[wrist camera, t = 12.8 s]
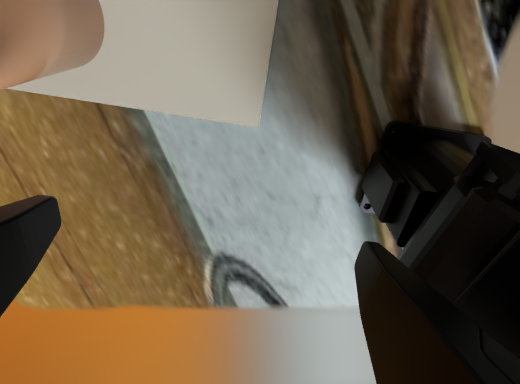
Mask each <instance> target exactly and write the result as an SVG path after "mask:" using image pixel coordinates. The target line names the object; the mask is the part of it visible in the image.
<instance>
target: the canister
mask: <svg viewBox="0 0 520 384" xmlns="http://www.w3.org/2000/svg"><path fill="white" fill-rule="evenodd" d="M103 39H104V16H103V12H102V8H101V5H100V2H99V0H0V90H2V89H5V88H9V87H12V86H16V85H19V84H23V83H26V82H30V81H33V80H37V79H40V78H44V77H47V76H51V75H54V74H58V73H61V72H65V71H68V70H72V69H75V68H78V67H81V66H84V65H86V64H87V63H89V62H90V61H91V60H93V58H94V57H95V56H96V55H97V53H98V52H99V50H100V48H101V46H102V42H103Z"/></svg>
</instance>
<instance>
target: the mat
mask: <svg viewBox="0 0 520 384" xmlns="http://www.w3.org/2000/svg"><path fill="white" fill-rule="evenodd" d="M278 1H279V0H99V2H100V5H101V8H102V12H103V16H104V39H103V42H102V46H101V48H100V50H99V52H98V53H97V55H96V56H95V57H94V58H93V60H91V61H90V62H89V63H87V64H86V65H84V66H81V67H78V68H75V69H72V70H68V71H65V72H61V73H58V74H54V75H51V76H47V77H44V78H40V79H37V80H33V81H30V82H26V83H23V84H19V85H16V86H12V87H9V88H7V89H14V90H20V91H26V92H33V93H39V94H46V95H52V96H58V97H65V98H71V99H77V100H84V101H90V102H97V103H103V104H109V105H116V106H122V107H128V108H135V109H141V110H148V111H154V112H160V113H167V114H173V115H179V116H186V117H192V118H199V119H205V120H211V121H218V122H224V123H230V124H237V125H243V126H250V127H256V128H259V125H260V118H261V111H262V105H263V98H264V92H265V85H266V79H267V72H268V66H269V59H270V53H271V46H272V40H273V33H274V27H275V20H276V14H277V7H278Z"/></svg>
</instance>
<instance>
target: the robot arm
mask: <svg viewBox="0 0 520 384" xmlns="http://www.w3.org/2000/svg"><path fill="white" fill-rule="evenodd" d="M394 127H398V130H397V131H396V132H395V133H392V129H393V128H394ZM480 142H481V144H480V145H479V143H480ZM478 145H479V146H478ZM362 189H363V193H362V196H361V199H360V201H359V207H360V209H361V210H362V211H363V212H365V213H372V214H376V216H377V218H378V220H379V221H380V222H381V223H386V225H387V227H388V229H389V231H390V232H391V234H392V236H393V238H394V240H395V242H396V244H397V245H398V246H400V247H404V248H403V250H402V251H401V253H400V254H399V255H398V257H397V258H396V257H395V256H394V255H393V254H391V253H390V252H389V251H388V250H387V249H385V248H384V247H383V246H382V245H380V244H379V243H376V242H369V241H366V242H364V243H363V244H362V246H361V249H360V251H359V254H358V257H357V259H356V262H355V276H356V285H357V293H358V301H359V309H360V315H361V320H362V325H363V329H364V333H365V337H366V341H367V346H368V350H369V354H370V358H371V362H372V366H373V370H374V375H375V379H376V383H377V384H520V154H519V153H517V152H514V151H511V150H508V149H505V148H502V147H500V146H497V145H494V144H491V139H490V138H488V137H487V136H485V135H481V134H475V133H468V132H462V131H456V130H450V129H444V128H437V127H431V126H425V125H419V124H413V123H406V122H400V121H392V122H390V123H389V124H388V125H387V127H386V129H385V132H384V134H383V137H382V140H381V143H380V146H379V148H378V151H376V152H375V153H373V155H372V158H371V161H370V163H369V166H368V169H367V172H366V175H365V178H364V180H363V183H362ZM367 203H369V206H366V207H365V206H364V205H365V204H367ZM60 226H61V217H60V212H59V206H58V202H57V199H56V198H55V197H53V196H46V195H37V196H33V197H30V198H27V199H23V200H20V201H17V202H14V203H10V204H7V205H4V206H1V207H0V317H1V315H2V314H3V313H4V311H5V310H6V309H7V307H8V306H9V305H10V303H11V302H12V301H13V299H14V298H15V297H16V295H17V294H18V293H19V291H20V290H21V289H22V287H23V286H24V285H25V283H26V282H27V281H28V279H29V278H30V276H31V275H32V274H33V272H34V271H35V269H36V268H37V266H38V264H39V263H40V261H41V259H42V258H43V256H44V254H45V253H46V251H47V249H48V247H49V246H50V244H51V242H52V241H53V239H54V237H55V236H56V234H57V232H58V231H59V229H60Z"/></svg>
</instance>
